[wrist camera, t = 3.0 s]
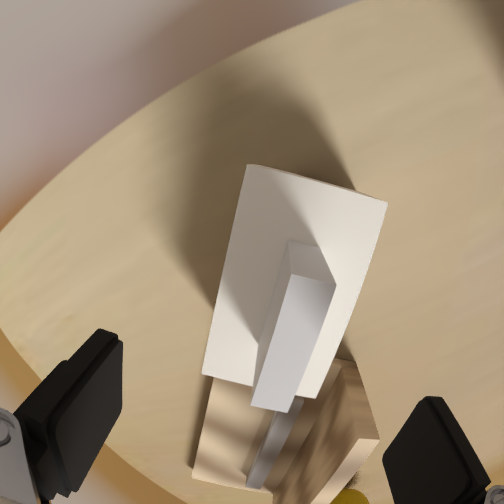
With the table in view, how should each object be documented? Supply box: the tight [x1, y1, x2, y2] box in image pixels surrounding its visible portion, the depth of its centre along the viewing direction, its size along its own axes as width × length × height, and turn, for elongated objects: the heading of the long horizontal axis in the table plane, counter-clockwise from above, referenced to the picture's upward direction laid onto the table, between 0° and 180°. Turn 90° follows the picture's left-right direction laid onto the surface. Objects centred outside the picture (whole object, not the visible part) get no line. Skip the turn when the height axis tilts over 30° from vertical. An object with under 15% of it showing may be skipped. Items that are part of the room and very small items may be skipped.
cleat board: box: [192, 358, 380, 504], centre depth 23 cm, size 20×11×9 cm, turn 167°
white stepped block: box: [201, 164, 388, 413], centre depth 17 cm, size 12×7×12 cm, turn 167°
